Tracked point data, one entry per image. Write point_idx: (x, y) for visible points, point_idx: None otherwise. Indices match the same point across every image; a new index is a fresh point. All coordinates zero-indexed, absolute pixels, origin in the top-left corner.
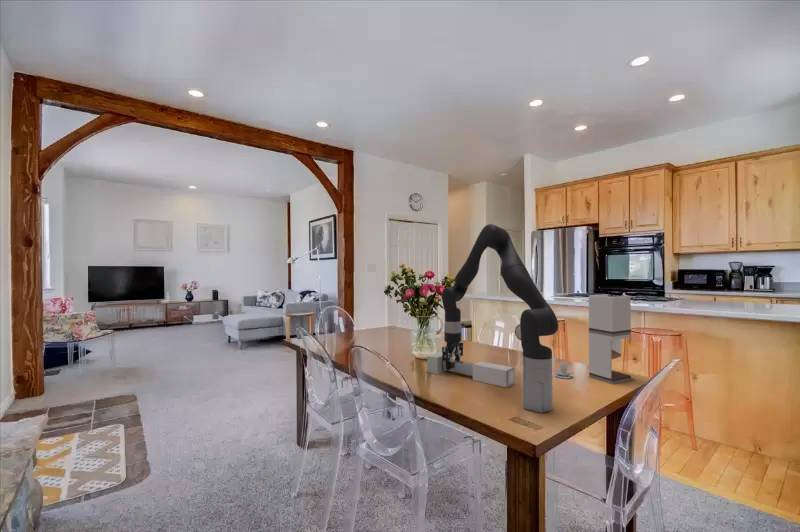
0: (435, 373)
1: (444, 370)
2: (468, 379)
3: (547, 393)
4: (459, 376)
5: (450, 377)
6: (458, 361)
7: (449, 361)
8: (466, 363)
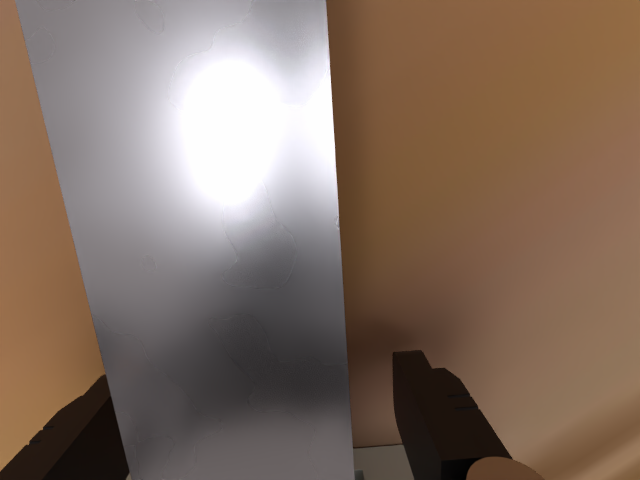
0: None
1: None
2: (371, 4)
3: None
4: (339, 197)
5: (458, 258)
6: (202, 383)
7: (529, 467)
8: (202, 100)
